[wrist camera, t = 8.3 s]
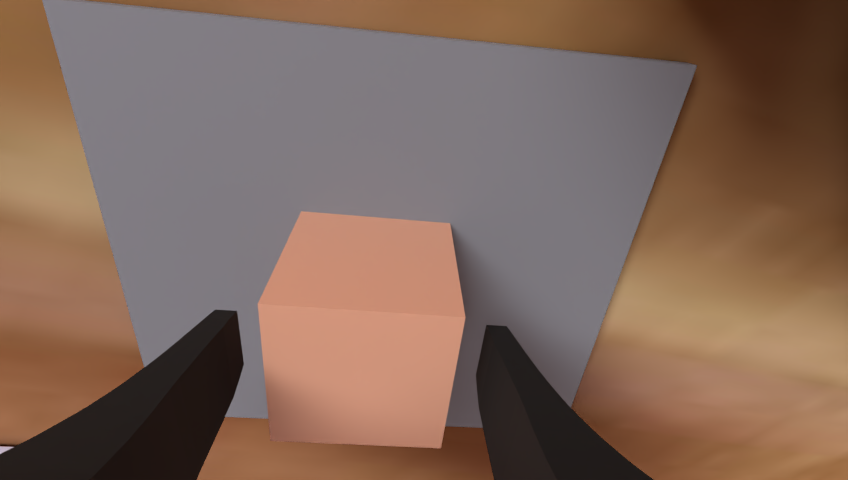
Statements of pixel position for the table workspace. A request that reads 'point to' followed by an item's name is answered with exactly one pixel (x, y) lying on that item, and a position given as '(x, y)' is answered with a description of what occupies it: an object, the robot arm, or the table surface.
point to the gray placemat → (362, 167)
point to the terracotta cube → (362, 331)
